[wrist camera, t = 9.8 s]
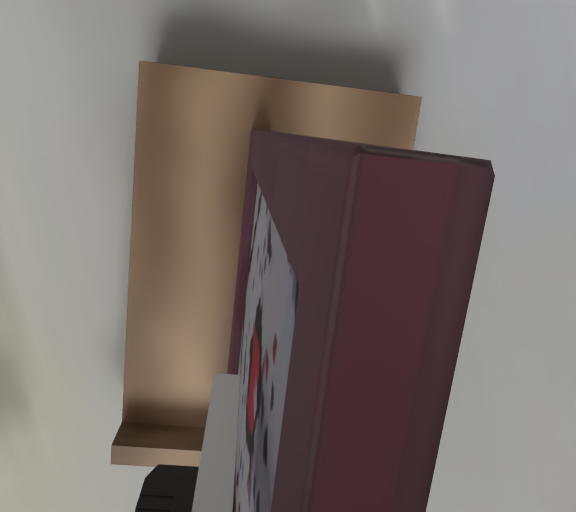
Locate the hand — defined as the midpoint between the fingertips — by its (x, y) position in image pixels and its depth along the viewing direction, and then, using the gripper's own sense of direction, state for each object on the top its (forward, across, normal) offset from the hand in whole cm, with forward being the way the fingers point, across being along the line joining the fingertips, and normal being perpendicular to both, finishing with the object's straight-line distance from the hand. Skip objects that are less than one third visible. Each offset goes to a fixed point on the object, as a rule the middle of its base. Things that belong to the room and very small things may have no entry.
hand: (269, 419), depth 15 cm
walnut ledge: (+19, 0, 0) cm, 19 cm away
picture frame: (+15, -3, 0) cm, 16 cm away
